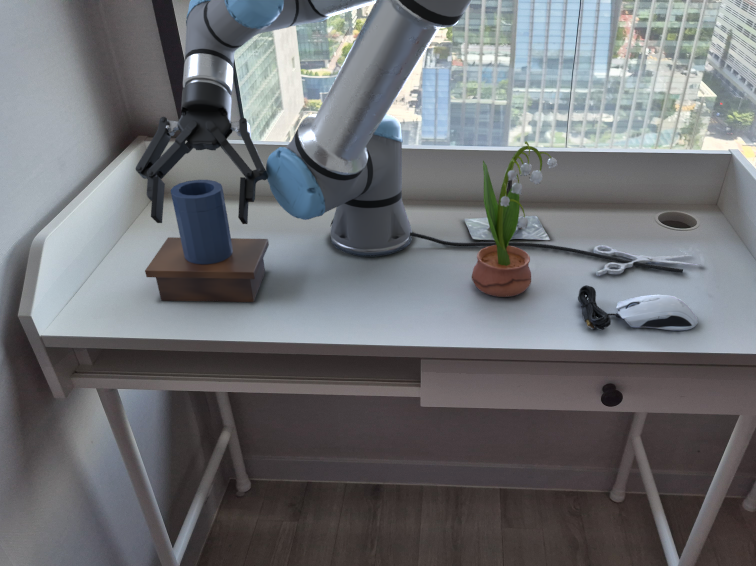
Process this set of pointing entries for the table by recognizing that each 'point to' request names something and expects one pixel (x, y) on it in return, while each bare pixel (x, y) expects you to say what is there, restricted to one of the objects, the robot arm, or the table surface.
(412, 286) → the table surface
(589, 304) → the computer mouse
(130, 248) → the table surface
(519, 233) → the flat silver square plate
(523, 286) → the potted flower
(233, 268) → the overhanging wooden cap box
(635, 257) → the scissors
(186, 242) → the jar
